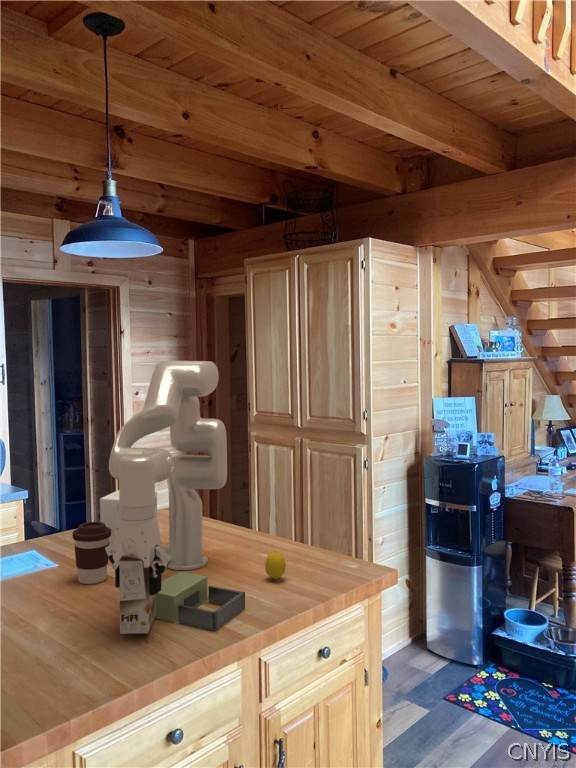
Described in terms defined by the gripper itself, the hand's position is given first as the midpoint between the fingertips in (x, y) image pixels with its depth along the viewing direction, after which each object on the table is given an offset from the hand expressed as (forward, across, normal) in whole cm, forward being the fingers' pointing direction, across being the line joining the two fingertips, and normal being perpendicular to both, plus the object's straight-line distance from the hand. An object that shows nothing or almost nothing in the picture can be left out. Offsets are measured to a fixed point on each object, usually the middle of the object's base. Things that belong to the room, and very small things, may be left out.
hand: (138, 589), depth 136 cm
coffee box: (+8, 0, 0) cm, 8 cm away
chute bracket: (+10, +10, +14) cm, 20 cm away
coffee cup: (+10, -31, +19) cm, 38 cm away
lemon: (+11, +13, +41) cm, 45 cm away
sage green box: (+10, 0, +14) cm, 17 cm away
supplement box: (+11, -38, +43) cm, 58 cm away
